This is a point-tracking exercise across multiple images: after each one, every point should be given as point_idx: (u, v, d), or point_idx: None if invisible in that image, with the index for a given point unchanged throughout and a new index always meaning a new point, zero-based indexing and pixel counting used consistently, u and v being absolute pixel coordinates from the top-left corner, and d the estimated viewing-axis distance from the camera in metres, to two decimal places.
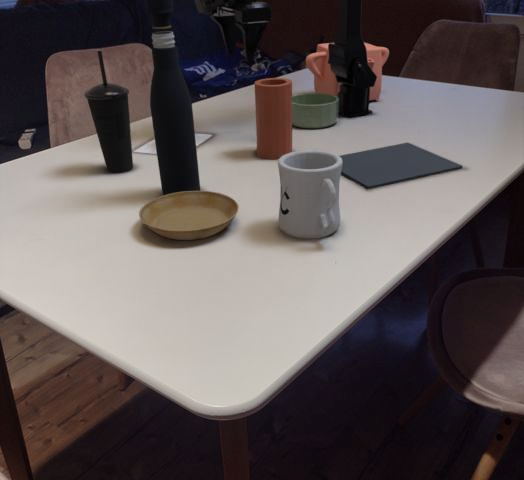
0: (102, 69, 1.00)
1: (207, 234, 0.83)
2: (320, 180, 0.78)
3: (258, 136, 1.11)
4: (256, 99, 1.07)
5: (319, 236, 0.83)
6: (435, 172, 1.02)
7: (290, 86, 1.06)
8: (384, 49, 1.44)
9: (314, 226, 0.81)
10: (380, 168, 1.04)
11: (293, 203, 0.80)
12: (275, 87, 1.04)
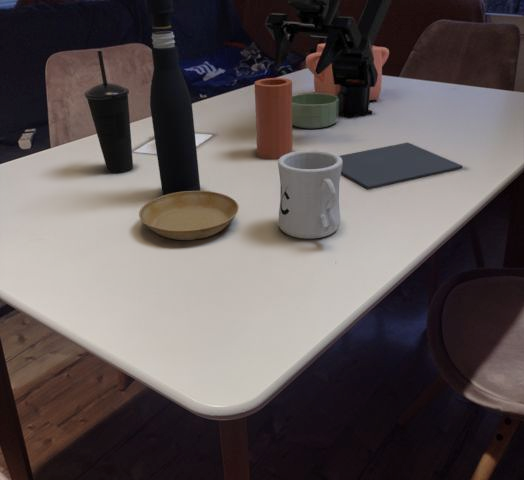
0: (102, 69, 1.00)
1: (207, 234, 0.83)
2: (320, 180, 0.78)
3: (258, 136, 1.11)
4: (256, 99, 1.07)
5: (319, 236, 0.83)
6: (435, 172, 1.02)
7: (290, 86, 1.06)
8: (384, 49, 1.44)
9: (314, 226, 0.81)
10: (380, 168, 1.04)
11: (293, 203, 0.80)
12: (275, 87, 1.04)
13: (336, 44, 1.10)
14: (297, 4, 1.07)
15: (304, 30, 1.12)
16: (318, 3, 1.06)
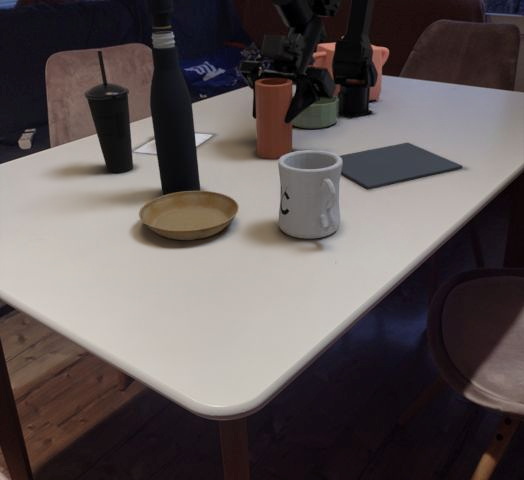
0: (102, 69, 1.00)
1: (207, 234, 0.83)
2: (320, 180, 0.78)
3: (258, 136, 1.11)
4: (256, 99, 1.07)
5: (319, 236, 0.83)
6: (435, 172, 1.02)
7: (290, 86, 1.06)
8: (384, 49, 1.44)
9: (314, 226, 0.81)
10: (380, 168, 1.04)
11: (293, 203, 0.80)
12: (275, 87, 1.04)
13: (306, 93, 1.08)
14: (270, 54, 1.05)
15: None
16: (291, 53, 1.04)
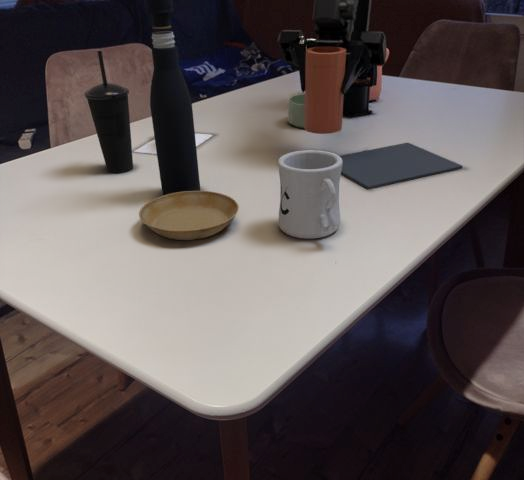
0: (102, 69, 1.00)
1: (207, 234, 0.83)
2: (320, 180, 0.78)
3: (310, 110, 1.03)
4: (310, 69, 0.99)
5: (319, 236, 0.83)
6: (435, 172, 1.02)
7: (345, 53, 0.99)
8: None
9: (314, 226, 0.81)
10: (380, 168, 1.04)
11: (293, 203, 0.80)
12: (334, 55, 0.97)
13: (357, 61, 1.02)
14: (321, 20, 0.98)
15: None
16: (345, 18, 0.97)
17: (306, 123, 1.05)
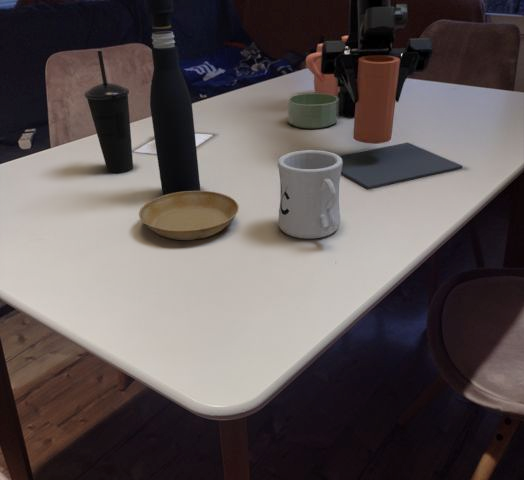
0: (102, 69, 1.00)
1: (207, 234, 0.83)
2: (320, 180, 0.78)
3: (366, 120, 1.01)
4: (368, 79, 0.98)
5: (319, 236, 0.83)
6: (435, 172, 1.02)
7: None
8: None
9: (314, 226, 0.81)
10: (380, 168, 1.04)
11: (293, 203, 0.80)
12: (394, 63, 0.96)
13: None
14: (374, 29, 0.96)
15: None
16: (396, 26, 0.97)
17: (359, 134, 1.03)
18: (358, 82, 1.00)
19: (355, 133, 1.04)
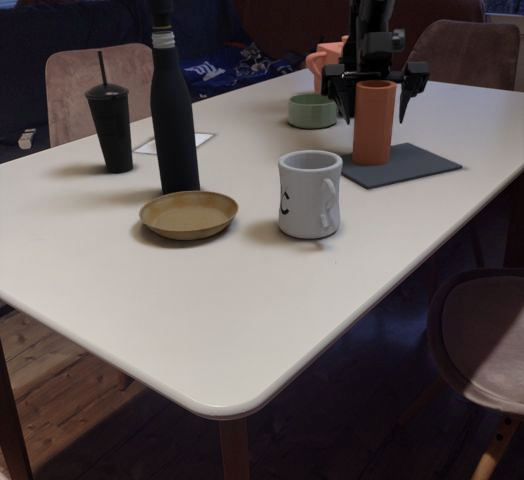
0: (102, 69, 1.00)
1: (207, 234, 0.83)
2: (320, 180, 0.78)
3: (365, 143, 1.04)
4: (366, 104, 1.00)
5: (319, 236, 0.83)
6: (435, 172, 1.02)
7: None
8: None
9: (314, 226, 0.81)
10: (380, 168, 1.04)
11: (293, 203, 0.80)
12: (391, 88, 0.98)
13: None
14: (372, 53, 0.98)
15: (366, 79, 1.04)
16: (394, 50, 0.99)
17: (358, 156, 1.06)
18: (356, 106, 1.02)
19: (354, 155, 1.07)
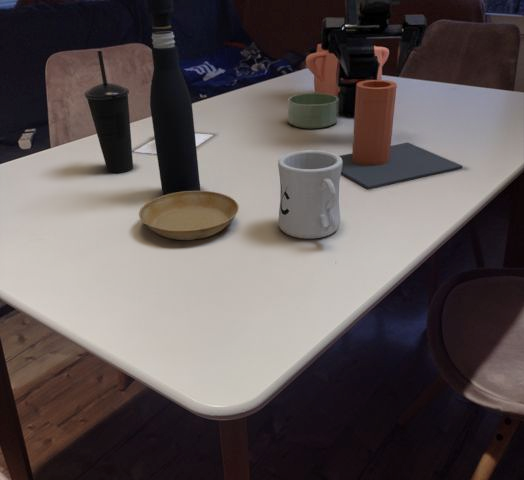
0: (102, 69, 1.00)
1: (207, 234, 0.83)
2: (320, 180, 0.78)
3: (365, 143, 1.04)
4: (366, 104, 1.00)
5: (319, 236, 0.83)
6: (435, 172, 1.02)
7: None
8: (384, 49, 1.44)
9: (314, 226, 0.81)
10: (380, 168, 1.04)
11: (293, 203, 0.80)
12: (391, 88, 0.98)
13: None
14: (371, 5, 1.02)
15: (365, 32, 1.08)
16: (392, 2, 1.03)
17: (358, 156, 1.06)
18: (356, 106, 1.02)
19: (354, 155, 1.07)
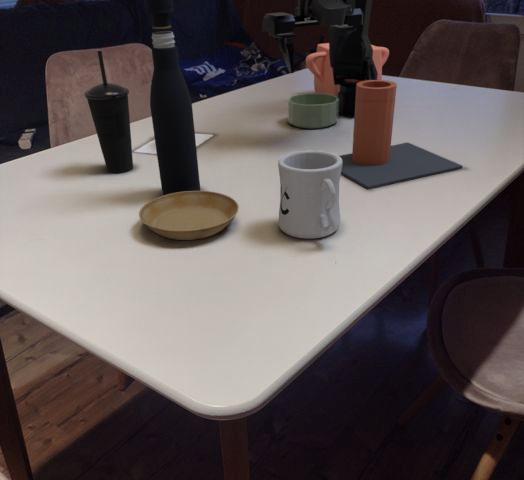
0: (102, 69, 1.00)
1: (207, 234, 0.83)
2: (320, 180, 0.78)
3: (365, 143, 1.04)
4: (366, 104, 1.00)
5: (319, 236, 0.83)
6: (435, 172, 1.02)
7: None
8: (384, 49, 1.44)
9: (314, 226, 0.81)
10: (380, 168, 1.04)
11: (293, 203, 0.80)
12: (391, 88, 0.98)
13: None
14: None
15: (307, 24, 1.08)
16: None
17: (358, 156, 1.06)
18: (356, 106, 1.02)
19: (354, 155, 1.07)
